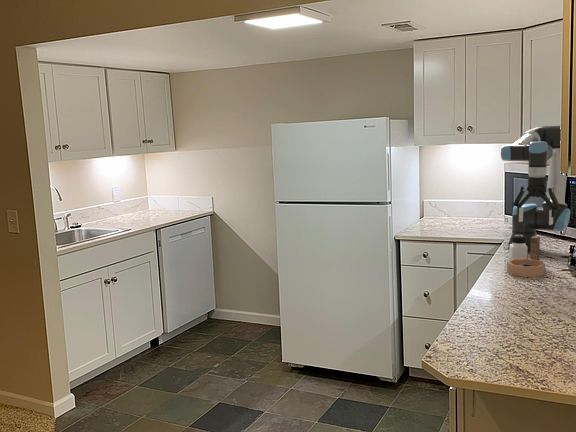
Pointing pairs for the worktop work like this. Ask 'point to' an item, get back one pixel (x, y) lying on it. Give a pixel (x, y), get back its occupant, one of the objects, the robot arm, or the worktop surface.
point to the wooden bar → (535, 247)
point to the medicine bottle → (518, 248)
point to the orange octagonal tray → (526, 267)
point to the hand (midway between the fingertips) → (535, 223)
